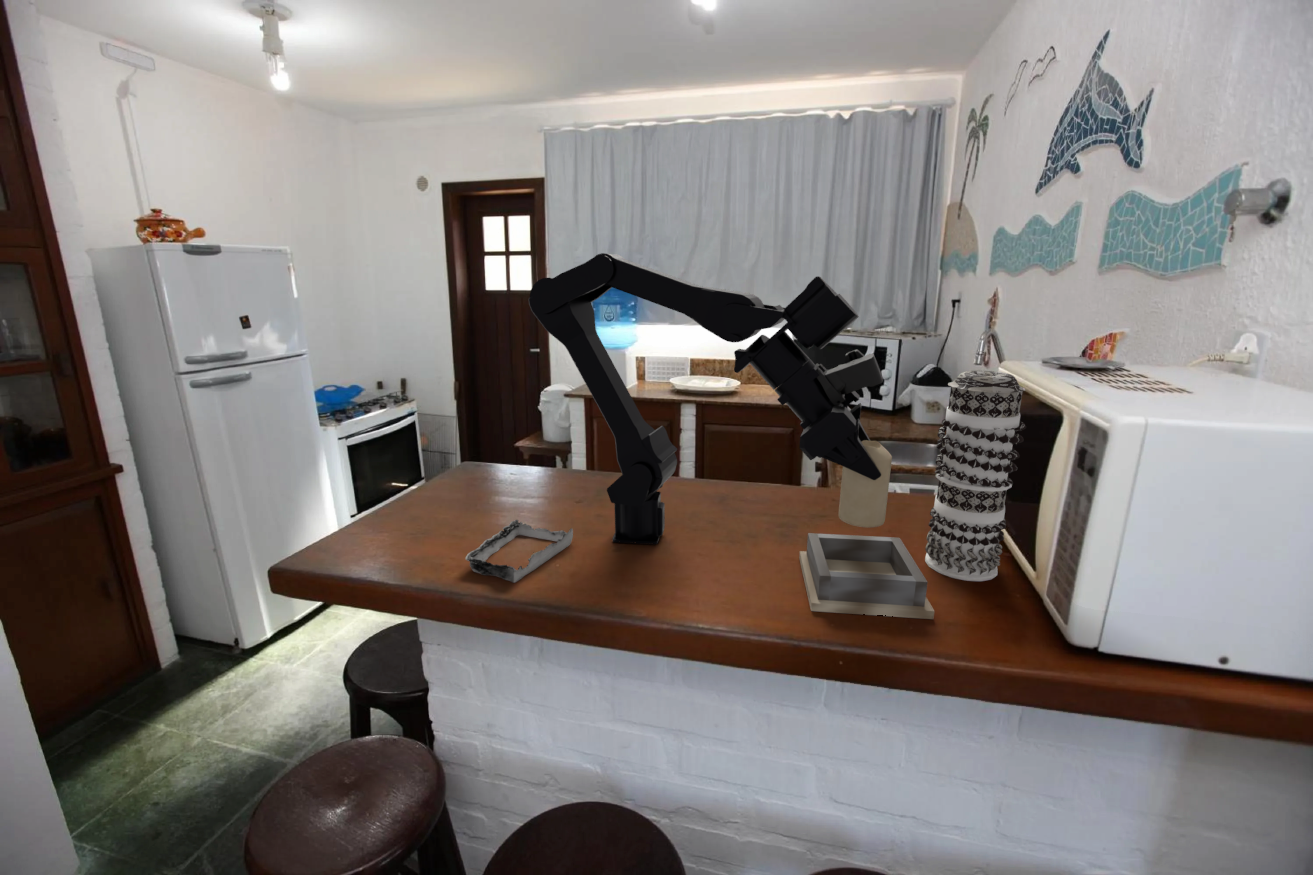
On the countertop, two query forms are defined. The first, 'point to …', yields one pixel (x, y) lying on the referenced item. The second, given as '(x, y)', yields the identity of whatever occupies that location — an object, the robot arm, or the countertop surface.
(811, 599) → the square tray
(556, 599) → the countertop surface
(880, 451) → the candle
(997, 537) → the decorative candle
